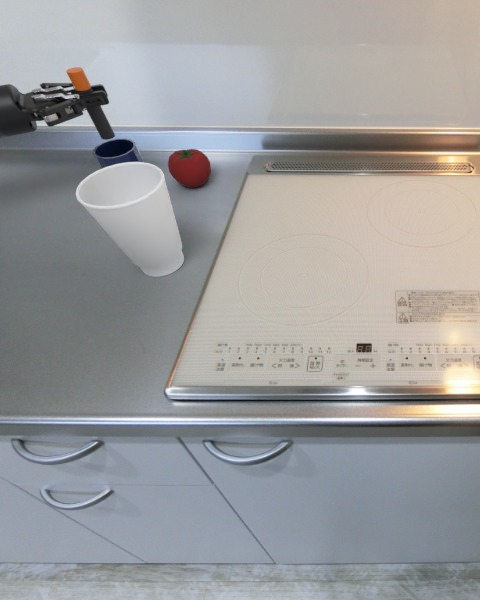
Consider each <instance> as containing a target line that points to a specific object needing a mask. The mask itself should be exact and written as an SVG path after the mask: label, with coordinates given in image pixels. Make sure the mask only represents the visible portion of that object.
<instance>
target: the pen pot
mask: <svg viewBox="0 0 480 600" xmlns="http://www.w3.org/2000/svg"><path fill="white" fill-rule="evenodd" d="M92 155H93V157H94V159H95V160H96V162H97V164H98V166H99V168H100V169H102V168H105V167H108V166H111V165H115V164H120V163H126V162H144V163H146V162H145V161H144V158H143V156H142V154H141V151H140V149H139V148H138V145H137V143H136V142H135V141H134V140H132V139H129V138H112V139H108V140H105V141H103V142H101V143H99V144H98V145H96V146H95V147H94V148H93V150H92Z"/></svg>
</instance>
